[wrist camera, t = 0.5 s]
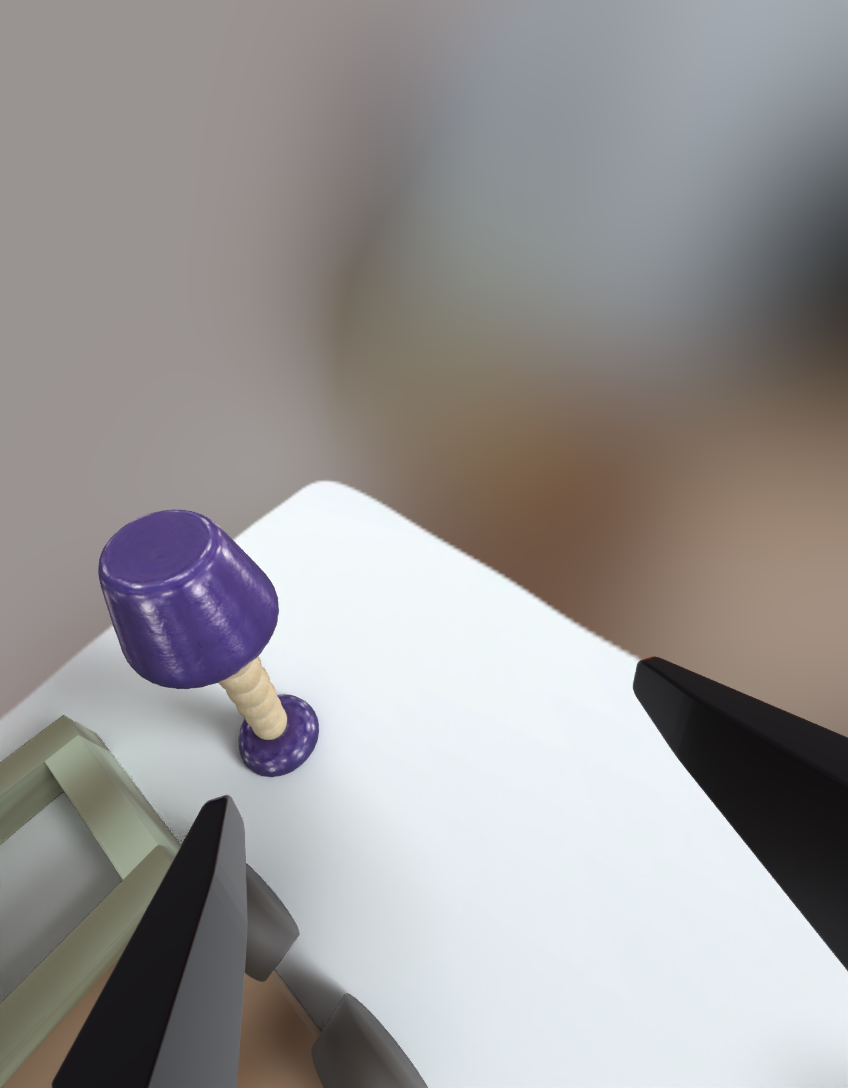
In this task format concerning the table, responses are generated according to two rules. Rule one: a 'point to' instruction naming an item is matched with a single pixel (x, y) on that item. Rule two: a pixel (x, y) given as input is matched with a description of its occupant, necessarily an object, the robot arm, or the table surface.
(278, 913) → the chassis
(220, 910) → the robot arm
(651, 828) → the table surface
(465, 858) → the table surface
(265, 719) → the toy lamp
